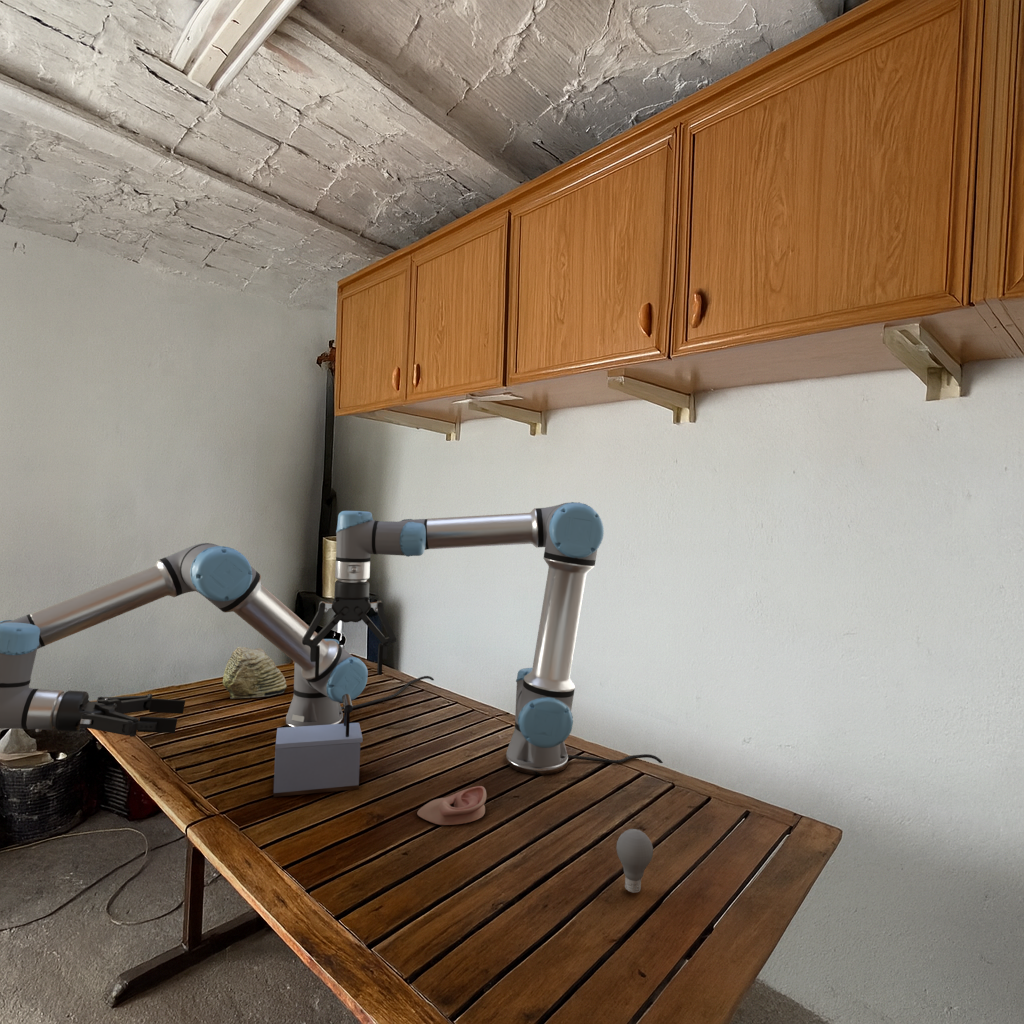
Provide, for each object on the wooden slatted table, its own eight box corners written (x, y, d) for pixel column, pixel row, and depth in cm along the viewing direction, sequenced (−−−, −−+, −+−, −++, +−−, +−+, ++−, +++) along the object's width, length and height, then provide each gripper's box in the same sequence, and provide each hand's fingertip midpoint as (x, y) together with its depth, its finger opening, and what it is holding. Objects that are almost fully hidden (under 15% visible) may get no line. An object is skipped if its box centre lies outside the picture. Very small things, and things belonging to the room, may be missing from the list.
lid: (358, 726, 147) (360, 691, 147) (362, 742, 138) (364, 705, 138) (277, 732, 142) (278, 696, 142) (275, 748, 133) (276, 710, 132)
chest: (355, 770, 147) (357, 727, 147) (358, 788, 138) (360, 742, 138) (275, 777, 142) (277, 732, 142) (273, 797, 133) (275, 749, 132)
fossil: (218, 695, 195) (220, 647, 195) (278, 685, 208) (279, 640, 207) (228, 703, 189) (230, 653, 188) (289, 692, 201) (290, 645, 201)
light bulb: (610, 879, 108) (613, 822, 108) (644, 879, 109) (647, 822, 109) (619, 902, 102) (622, 840, 102) (655, 901, 103) (658, 840, 103)
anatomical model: (412, 801, 125) (431, 776, 136) (411, 820, 125) (430, 795, 136) (477, 810, 122) (491, 784, 134) (476, 830, 122) (490, 803, 134)
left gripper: (74, 711, 135) (183, 716, 143) (35, 751, 112) (168, 754, 120) (81, 676, 136) (190, 683, 143) (43, 708, 113) (176, 714, 120)
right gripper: (292, 582, 134) (289, 682, 134) (410, 582, 141) (407, 676, 142) (293, 577, 141) (289, 672, 141) (405, 578, 148) (402, 668, 149)
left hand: (180, 715), depth 132 cm, fingers open, 13 cm apart
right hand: (348, 675), depth 141 cm, fingers open, 13 cm apart
